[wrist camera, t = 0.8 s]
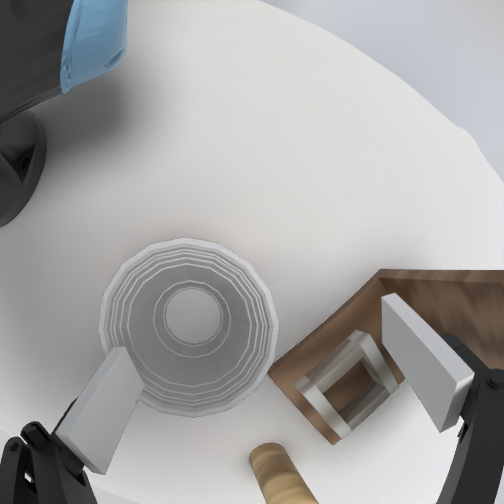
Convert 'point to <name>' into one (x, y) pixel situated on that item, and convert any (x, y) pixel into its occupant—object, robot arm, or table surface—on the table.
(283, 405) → the table surface
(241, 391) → the plastic cup
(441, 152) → the table surface
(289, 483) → the peg
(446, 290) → the awning stand
